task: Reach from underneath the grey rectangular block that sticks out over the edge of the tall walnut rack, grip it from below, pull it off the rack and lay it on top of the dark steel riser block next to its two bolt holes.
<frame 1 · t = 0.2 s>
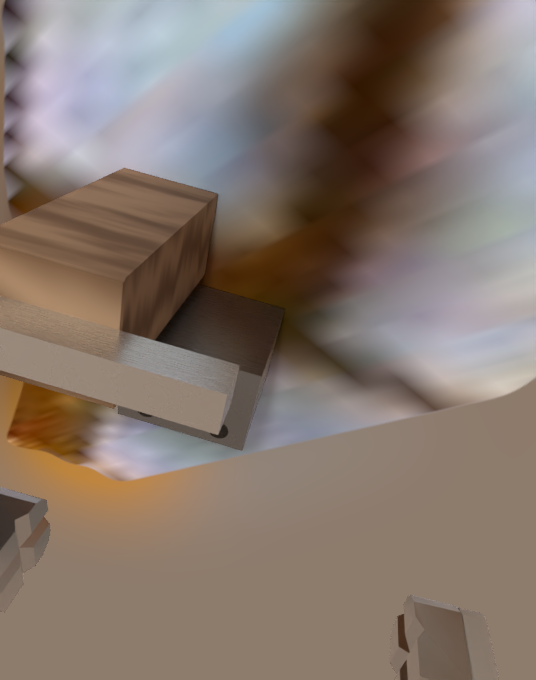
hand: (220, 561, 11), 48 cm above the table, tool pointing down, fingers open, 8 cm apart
rack: (166, 223, 58), on the table
riser block: (223, 327, 64), on the table
grey rectangular block: (102, 346, 36), point 26 cm above the table, touching rack
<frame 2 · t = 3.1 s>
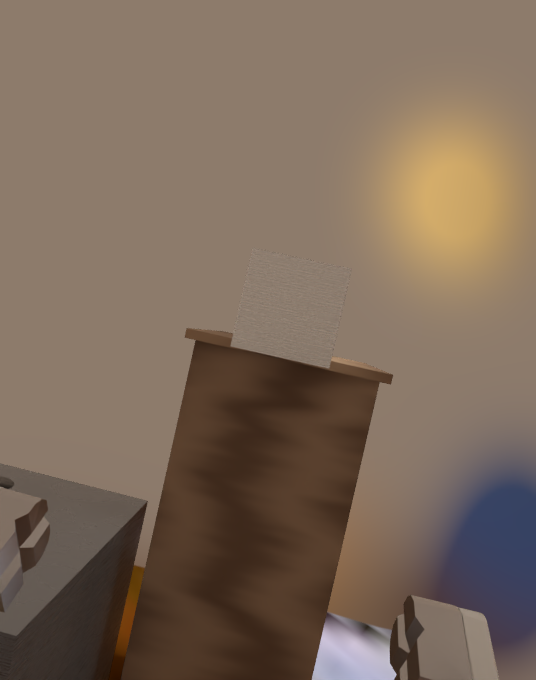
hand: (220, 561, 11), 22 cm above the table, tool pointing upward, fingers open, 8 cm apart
grey rectangular block: (289, 350, 27), point 26 cm above the table, touching rack
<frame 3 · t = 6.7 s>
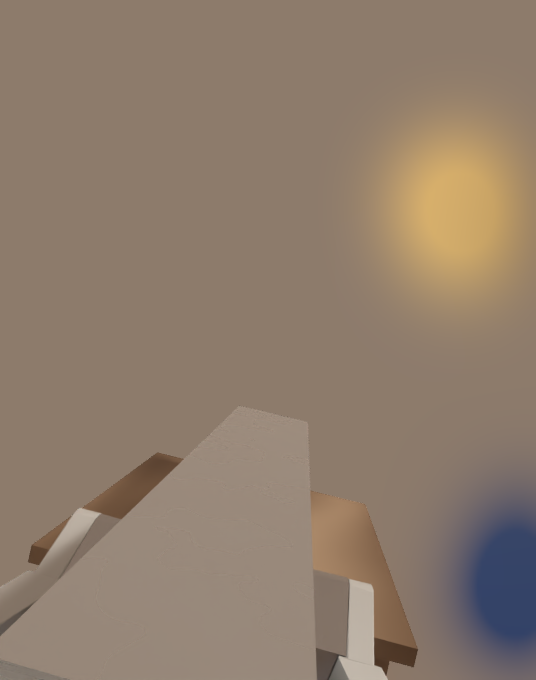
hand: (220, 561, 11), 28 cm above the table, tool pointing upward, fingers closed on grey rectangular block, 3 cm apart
grey rectangular block: (226, 575, 15), point 26 cm above the table, touching gripper, rack
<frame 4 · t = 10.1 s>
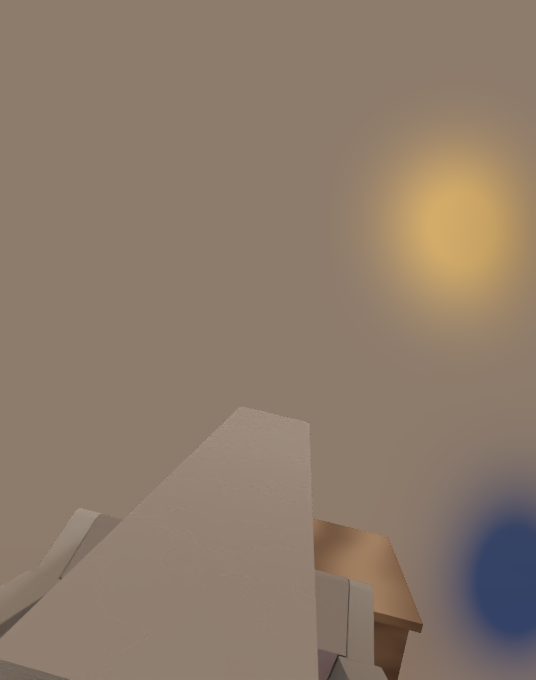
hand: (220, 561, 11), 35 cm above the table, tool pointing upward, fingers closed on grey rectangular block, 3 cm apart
grey rectangular block: (227, 575, 15), point 32 cm above the table, touching gripper
when the fingers open (19 cm above the table, at t = 13.8 s): grey rectangular block drops 2 cm, resting on riser block.
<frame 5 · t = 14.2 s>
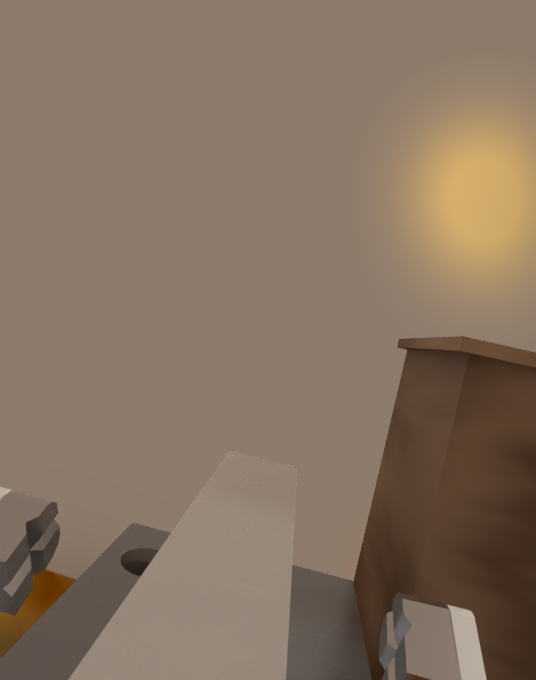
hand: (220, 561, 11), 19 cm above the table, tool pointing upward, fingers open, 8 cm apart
grey rectangular block: (209, 650, 15), point 15 cm above the table, touching riser block
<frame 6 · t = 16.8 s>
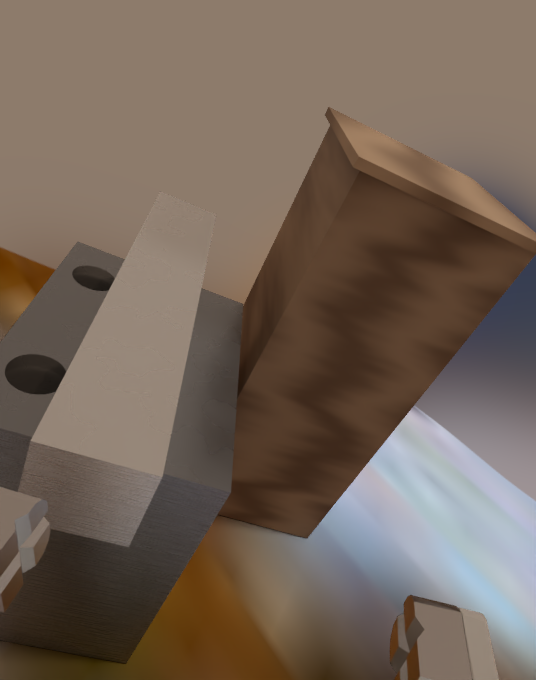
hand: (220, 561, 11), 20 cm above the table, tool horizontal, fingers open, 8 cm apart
rack: (247, 464, 41), on the table
riser block: (72, 525, 31), on the table
grey rectangular block: (138, 343, 23), point 15 cm above the table, touching riser block
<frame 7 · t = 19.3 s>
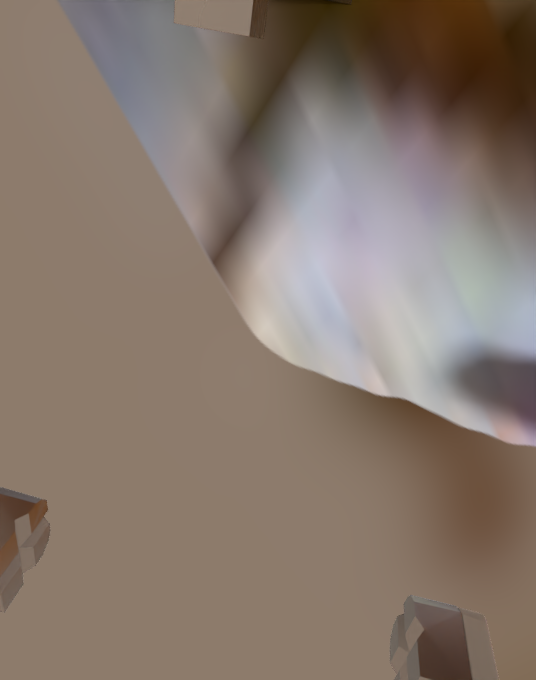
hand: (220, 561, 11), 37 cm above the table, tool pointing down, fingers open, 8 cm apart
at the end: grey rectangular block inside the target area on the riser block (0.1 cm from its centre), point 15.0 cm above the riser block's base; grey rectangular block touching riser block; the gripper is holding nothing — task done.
